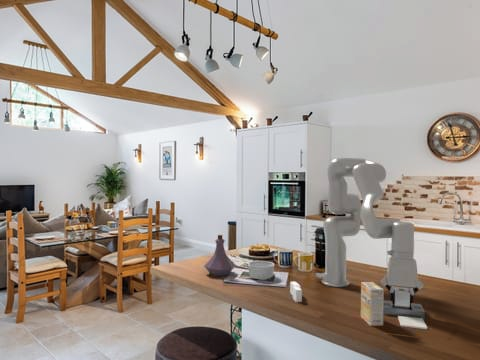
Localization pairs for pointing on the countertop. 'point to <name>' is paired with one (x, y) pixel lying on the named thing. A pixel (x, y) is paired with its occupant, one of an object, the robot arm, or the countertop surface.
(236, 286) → the countertop surface
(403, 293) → the grey rectangular block
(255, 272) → the ramekin
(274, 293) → the countertop surface
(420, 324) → the coaster
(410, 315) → the grey recessed block
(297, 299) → the white double box
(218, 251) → the flask
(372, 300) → the supplement box
